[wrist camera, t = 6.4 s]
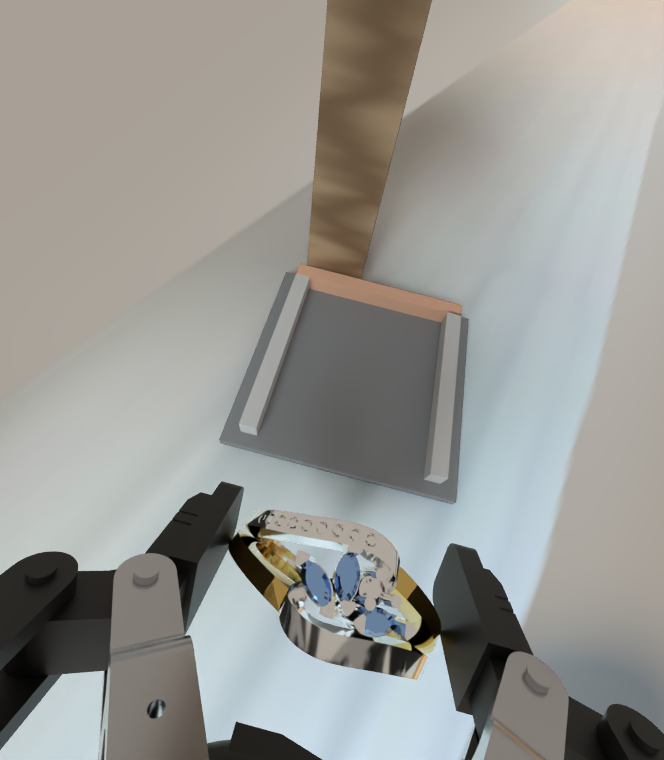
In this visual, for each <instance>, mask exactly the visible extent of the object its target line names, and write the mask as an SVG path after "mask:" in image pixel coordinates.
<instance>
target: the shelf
mask: <svg viewBox="0 0 664 760" xmlns="http://www.w3.org/2000/svg"><path fill="white" fill-rule="evenodd" d="M431 2H432V0H327V13H326V27H325V40H324V53H323V66H322V79H321V92H320V105H319V118H318V132H317V144H316V157H315V170H314V183H313V196H312V209H311V222H310V235H309V248H308V262H307V266H311V267H315V268H319V269H323V270H327V271H331V272H335V273H338V274H342V275H346V276H350V277H354V278H358V279H361V276H362V272H363V269H364V265H365V261H366V257H367V253H368V250H369V246H370V242H371V238H372V234H373V230H374V226H375V222H376V218H377V214H378V210H379V206H380V203H381V199H382V195H383V191H384V187H385V183H386V179H387V175H388V171H389V167H390V163H391V159H392V155H393V151H394V147H395V144H396V140H397V136H398V132H399V128H400V124H401V120H402V116H403V112H404V108H405V104H406V100H407V96H408V92H409V88H410V85H411V81H412V77H413V73H414V69H415V65H416V61H417V57H418V53H419V48H420V45H421V41H422V37H423V33H424V30H425V25H426V22H427V18H428V14H429V10H430V6H431Z"/></svg>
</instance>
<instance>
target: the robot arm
mask: <svg viewBox="0 0 664 760" xmlns="http://www.w3.org/2000/svg"><path fill="white" fill-rule="evenodd" d="M243 491H244V488H243V487H241V486H237V485H233V484H230V483H226V482H221V483H220V484H219V485H218V487H217V488H216V490H215V491H214V493H213V494H212V495H209V494H205V493H199V494H197V495H195V496H193V497H192V498H190V499H188V500H187V501H186V502H185V504H184V505H183V506H182V507H181V509H180V510H179V512H178V513H177V514H176V515H175V516H174V518H173V519H172V521H170V523H169V524H168V525H167V526H166V528H165V529H164V530H163V531H162V533H161V534H160V535H159V536H158V538H157V539H156V540H155V542H154V543H153V544H152V545H151V547H150V548H149V549H148V550H147V552H146V553H145V554H140V555H137V556H134V557H132V558H130V559H128V560H126V561H125V562H124V563H122V564H121V565H120V566H119V567H118V569H116V570H110V571H78V563H77V561H76V560H75V558H74V557H72V556H71V555H69V554H66V553H63V552H43V553H38V554H35V555H32V556H29V557H27V558H24V559H22V560H21V561H19V562H17V563H16V564H14V565H13V566H12V567H10V568H9V569H8V570H6V571H5V572H4V573H2V574H1V575H0V750H1V748H2V747H3V746H4V745H5V744H6V742H7V741H8V740H9V739H10V737H11V736H12V735H13V734H14V732H15V731H16V730H17V729H18V728H19V726H20V725H21V724H22V723H23V721H24V720H25V719H26V718H27V717H28V715H29V714H30V713H31V712H32V710H33V709H34V708H35V707H36V706H37V704H38V703H39V702H40V701H41V699H42V698H43V697H44V696H45V694H46V693H47V692H48V691H49V690H50V688H51V687H52V686H53V685H54V683H55V682H56V681H57V680H58V679H59V677H60V676H61V675H62V674H68V673H80V672H93V671H104V674H103V690H102V706H101V721H100V737H99V752H98V760H322V759H320V758H319V757H317V756H316V755H314V754H312V753H311V752H309V751H308V750H306V749H304V748H303V747H301V746H300V745H298V744H296V743H295V742H293V741H292V740H290V739H288V738H287V737H285V736H284V735H282V734H279V733H275V732H271V731H268V730H264V729H260V728H257V727H253V726H249V725H246V724H242V723H238V722H236V724H235V727H234V731H233V734H232V738H231V740H223V741H217V742H212V743H207V740H206V733H205V726H204V719H203V712H202V705H201V698H200V691H199V684H198V677H197V670H196V663H195V656H194V649H193V643H192V639H191V637H190V635H188V636H185V634H186V632H187V630H188V628H189V626H190V624H191V622H192V620H193V618H194V616H195V614H196V612H197V610H198V608H199V606H200V604H201V602H202V600H203V598H204V596H205V594H206V592H207V590H208V588H209V586H210V584H211V582H212V580H213V578H214V576H215V574H216V572H217V570H218V568H219V566H220V564H221V562H222V560H223V558H224V556H225V554H226V552H227V550H228V544H229V542H230V541H231V540H232V539H233V536H234V533H235V529H236V525H237V520H238V515H239V510H240V506H241V501H242V496H243ZM433 603H434V608H435V610H436V612H437V614H438V616H439V618H440V621H441V626H442V630H441V633H440V636H441V641H442V646H443V650H444V655H445V660H446V664H447V669H448V674H449V678H450V683H451V688H452V692H453V697H454V702H455V707H456V711H459V712H463V713H466V714H470V715H473V718H474V722H475V726H474V728H473V730H472V732H471V734H470V737H469V740H468V743H467V746H466V749H465V752H464V755H463V758H462V760H664V734H663V733H662V732H661V731H660V730H659V729H658V728H657V727H656V726H655V725H654V724H653V723H652V722H651V721H649V720H648V719H647V718H645V717H644V716H643V715H641V714H640V713H638V712H637V711H635V710H633V709H631V708H629V707H627V706H624V705H620V704H613V705H610V706H609V707H608V709H607V710H606V712H605V713H604V715H601V714H599V713H598V712H595V711H594V710H592V709H590V708H588V707H587V706H585V705H583V704H581V703H579V702H578V701H576V700H574V699H572V698H571V697H569V696H568V694H567V691H566V688H565V686H564V685H563V683H562V681H561V680H560V678H559V677H558V676H557V675H556V673H555V672H554V671H553V670H552V669H551V668H550V667H549V666H548V665H546V664H545V663H544V662H542V661H541V660H540V659H538V658H537V657H535V656H533V653H532V651H531V649H530V646H529V644H528V642H527V640H526V638H525V635H524V633H523V631H522V629H521V626H520V624H519V622H518V620H517V618H516V615H515V614H513V609H512V606H511V604H510V602H509V601H508V597H507V595H506V593H505V591H504V589H503V586H502V584H501V583H500V582H499V581H498V579H497V578H496V577H495V576H494V575H493V573H492V572H491V571H490V570H488V569H484V568H483V566H482V563H481V561H480V558H479V556H478V554H477V551H476V550H475V549H472V548H468V547H464V546H461V545H457V544H453V543H452V544H450V545H449V547H448V548H447V551H446V553H445V556H444V558H443V561H442V564H441V566H440V569H439V571H438V574H437V576H436V579H435V582H434V586H433Z"/></svg>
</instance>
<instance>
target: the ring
mask: <svg viewBox="0 0 664 760" xmlns="http://www.w3.org/2000/svg"><path fill="white" fill-rule="evenodd" d="M243 527H244V528H245V529H246V530H247V531H248V532H249V533H250V534H251V535H252V536H251V535H250V534H248V533H247V532H245V531H243V530H239V531H238V532H237V534H236V535H235V536H234V537H233V539H232V540H231V541H230V542H229V544H228V549H229V552H230V554H231V556H232V557H233V559H234V561H235V562H236V564H237V565H238V567H239V568H240V569H241V571H242V572H243V573H244V574H245V576H246V577H247V578H248V579H249V581H250V582H251V583H252V584H253V585H254V586H255V588H256V589H257V590H258V591H259V592H260V593H261V594H262V595H263V596H264V597H265V598H266V599H267V601H268V602H269V603H270V604H271V605H272V606H273V607H274V608H275V609H276V610H277V611H278V612H279V618H280V623H281V626H282V628H283V630H284V632H285V634H286V635H287V637H288V638H289V639H290V640H291V641H292V642H293V643H294V644H295V645H296V646H297V647H298V648H300V649H301V650H302V651H304V652H305V653H307V654H309V655H311V656H313V657H315V658H317V659H320V660H322V661H325V662H329V663H332V664H336V665H341V666H345V667H351V668H356V669H362V670H368V671H374V672H380V673H385V674H390V675H395V676H400V677H405V678H410V679H416V680H421V679H422V676H423V674H424V672H425V670H426V668H427V666H428V664H429V661H430V658H429V657H427V656H426V655H425V654H424V653H430V652H432V651H433V649H434V647H435V645H436V643H437V640H438V638H439V636H440V633H441V630H442V626H441V621H440V618H439V616H438V614H437V612H436V610H435V608H434V606H433V605H432V603H431V602H430V600H429V599H428V598H427V596H426V595H425V594H424V592H423V591H422V590H421V589H420V587H419V586H418V585H417V584H416V583H415V582H414V581H413V579H412V578H411V577H410V576H409V575H408V574H407V573H406V572H405V571H404V570H403V569H402V568H401V567H400V559H399V555H398V552H397V550H396V549H395V547H394V546H393V544H392V543H391V542H390V541H389V540H388V539H387V538H386V537H384V536H383V535H382V534H380V533H378V532H377V531H375V530H373V529H371V528H368V527H366V526H363V525H360V524H356V523H352V522H348V521H343V520H337V519H331V518H324V517H318V516H312V515H305V514H299V513H293V512H287V511H279V510H268V509H261V510H255V511H254V512H253V513H252V514H251V516H250V517H249V518H248V519H247V520H246V522H245V523H244V524H243ZM278 540H281V541H286V542H292V543H298V544H303V545H309V546H315V547H321V548H327V549H332V550H338V551H342V552H341V555H342V557H341V558H340V559H339V561H338V562H337V564H336V566H335V569H334V573H333V578H330V577H329V576H328V574H327V573H326V572H325V570H324V569H323V568H321V567H320V566H319V565H317V564H316V563H315V560H314V558H313V557H312V556H311V555H309V554H307V553H305V552H303V551H298V552H297V557H296V556H295V555H294V554H292V553H291V552H290V551H289V550H288V549H287V548H285V547H284V546H283V545H282V544H281V543H280V542H279V541H278ZM357 555H358V556H361V557H363V558H365V559H367V560H369V561H371V562H372V563H373V564H374V565H375V566H376V567H377V568H371V567H362V568H361V569H360V567H359V563H358V560H357V558H356V556H357ZM277 569H278V570H279V571H278V570H277ZM280 571H281V572H282V573H283V574H284V575H283V574H282V573H281V572H280ZM285 575H286V576H287V577H288V578H287V577H286V576H285ZM290 579H291V580H290ZM307 599H311V600H312V602H313V603H315V604H316V605H317V606H319V607H321V609H320V612H319V613H320V614H322V615H323V616H325V617H328V618H330V619H333V618H334V617H337V618H338V619H340V620H341V621H342V623H343V624H344V625H345V626H347V627H349V628H351V629H347V628H342V627H338V626H334V625H330V624H327V623H324V622H321V621H319V620H317V619H315V618H314V617H312V616H311V615H310V614H309V613H308V612H307V611H306V610H305V608H304V601H306V600H307ZM379 604H381V605H385V606H389V607H392V608H396V609H398V610H399V611H400V612H401V613H402V615H403V616H404V617H405V619H404V618H401V617H398V616H396V615H393V614H390V613H388V612H387V611H385V610H383V609H381V608H379V607H376V606H377V605H379Z"/></svg>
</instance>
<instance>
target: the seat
mask: <svg viewBox="0 0 664 760" xmlns="http://www.w3.org/2000/svg"><path fill="white" fill-rule="evenodd" d="M461 312H462V305H459V304H455V303H451V302H447V301H444V300H440V299H436V298H432V297H428V296H424V295H420V294H416V293H412V292H408V291H405V290H401V289H397V288H393V287H389V286H385V285H381V284H377V283H373V282H370V281H366V280H362V279H358V278H354V277H350V276H346V275H342V274H338V273H335V272H331V271H327V270H323V269H319V268H315V267H311V266H307V265H303V264H300V265H299V267H298V270H297V273H296V275H295V274H292V273H288V272H286V274H285V277H284V279H283V282H282V284H281V287H280V289H279V292H278V294H277V297H276V299H275V302H274V304H273V307H272V309H271V312H270V314H269V317H268V319H267V322H266V324H265V327H264V329H263V332H262V334H261V337H260V339H259V342H258V344H257V347H256V349H255V352H254V354H253V357H252V359H251V362H250V364H249V367H248V369H247V372H246V374H245V377H244V379H243V382H242V384H241V387H240V389H239V392H238V394H237V397H236V399H235V402H234V404H233V407H232V409H231V412H230V414H229V417H228V419H227V422H226V424H225V427H224V429H223V432H222V434H221V437H220V439H219V440H220V443H222V444H226V445H230V446H233V447H237V448H241V449H245V450H249V451H252V452H256V453H260V454H264V455H268V456H271V457H275V458H279V459H283V460H287V461H290V462H294V463H298V464H302V465H306V466H309V467H313V468H317V469H321V470H325V471H328V472H332V473H336V474H340V475H344V476H347V477H351V478H355V479H359V480H363V481H366V482H370V483H374V484H378V485H382V486H385V487H389V488H393V489H397V490H401V491H405V492H408V493H412V494H416V495H420V496H424V497H427V498H431V499H435V500H439V501H443V502H446V503H450V504H453V503H455V502H456V495H457V481H458V466H459V451H460V437H461V422H462V408H463V393H464V378H465V364H466V349H467V334H468V320H469V319H467V318H463V317H461Z"/></svg>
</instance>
